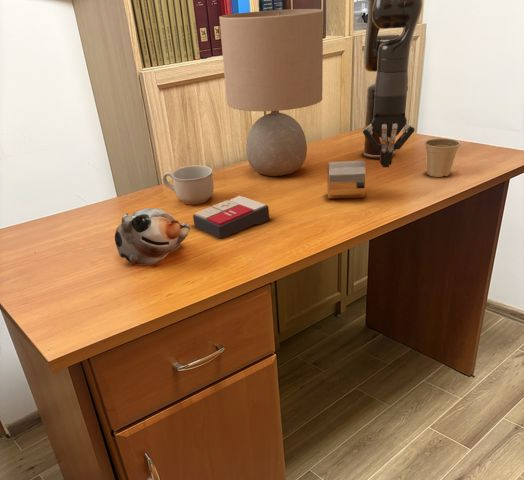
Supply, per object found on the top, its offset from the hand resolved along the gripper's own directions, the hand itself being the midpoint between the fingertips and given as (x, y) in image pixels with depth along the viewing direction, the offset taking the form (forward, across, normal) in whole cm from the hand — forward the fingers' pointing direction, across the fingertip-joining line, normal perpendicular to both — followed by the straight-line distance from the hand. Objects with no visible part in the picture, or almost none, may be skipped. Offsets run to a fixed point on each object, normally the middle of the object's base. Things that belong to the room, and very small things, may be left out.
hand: (385, 166), depth 136 cm
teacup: (+8, +51, -2) cm, 52 cm away
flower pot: (+8, -18, -16) cm, 25 cm away
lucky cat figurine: (+8, +53, +33) cm, 63 cm away
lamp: (+8, +28, -25) cm, 39 cm away
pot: (+8, +10, 0) cm, 12 cm away
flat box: (+8, +38, +16) cm, 42 cm away
